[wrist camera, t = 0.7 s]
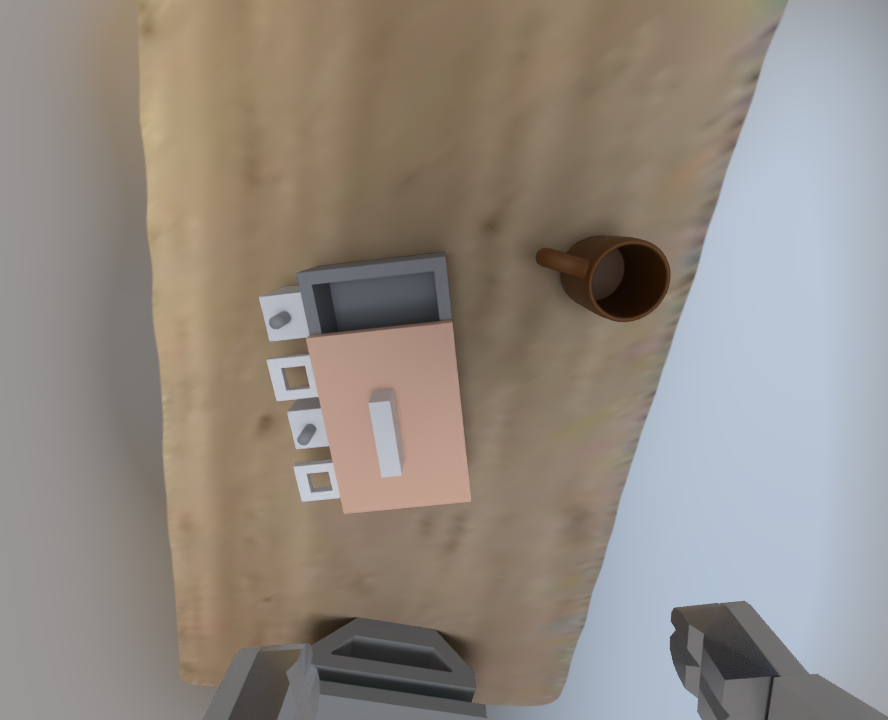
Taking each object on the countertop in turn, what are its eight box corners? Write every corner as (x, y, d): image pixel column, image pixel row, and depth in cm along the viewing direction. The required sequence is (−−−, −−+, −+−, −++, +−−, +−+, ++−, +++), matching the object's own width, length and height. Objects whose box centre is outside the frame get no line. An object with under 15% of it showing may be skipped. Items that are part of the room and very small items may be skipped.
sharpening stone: (305, 648, 63) (279, 732, 53) (311, 609, 61) (285, 689, 50) (467, 673, 65) (471, 758, 55) (479, 636, 63) (486, 718, 52)
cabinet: (281, 270, 46) (242, 281, 37) (444, 251, 45) (445, 258, 36) (317, 433, 52) (292, 476, 43) (462, 418, 51) (466, 459, 42)
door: (265, 340, 41) (246, 352, 37) (452, 319, 40) (453, 330, 36) (307, 510, 47) (295, 537, 43) (470, 494, 47) (473, 520, 43)
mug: (511, 284, 46) (528, 298, 38) (534, 214, 44) (558, 212, 35) (611, 312, 48) (651, 333, 39) (638, 246, 45) (687, 251, 36)
